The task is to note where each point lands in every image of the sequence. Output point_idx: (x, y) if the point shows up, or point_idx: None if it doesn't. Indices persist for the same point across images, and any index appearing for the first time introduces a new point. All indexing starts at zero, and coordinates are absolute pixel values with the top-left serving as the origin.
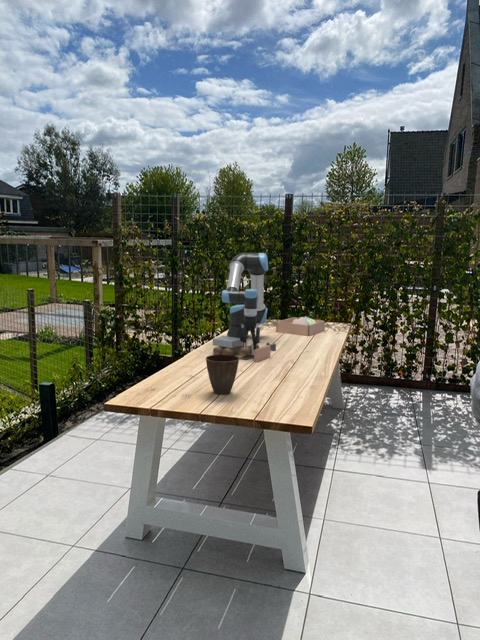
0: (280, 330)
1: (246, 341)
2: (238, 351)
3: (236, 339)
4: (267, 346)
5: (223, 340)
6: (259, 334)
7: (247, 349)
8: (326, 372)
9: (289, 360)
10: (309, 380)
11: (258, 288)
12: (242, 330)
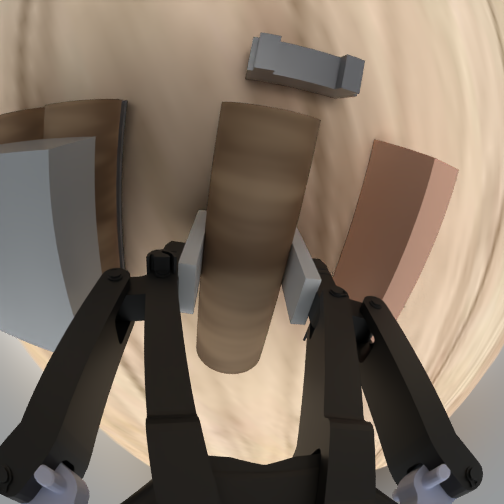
0: None
1: (176, 263)
2: (115, 190)
3: (39, 259)
4: (436, 230)
5: (21, 338)
6: (428, 389)
7: (261, 342)
8: None
9: (486, 200)
10: (466, 380)
11: None
12: (86, 436)
